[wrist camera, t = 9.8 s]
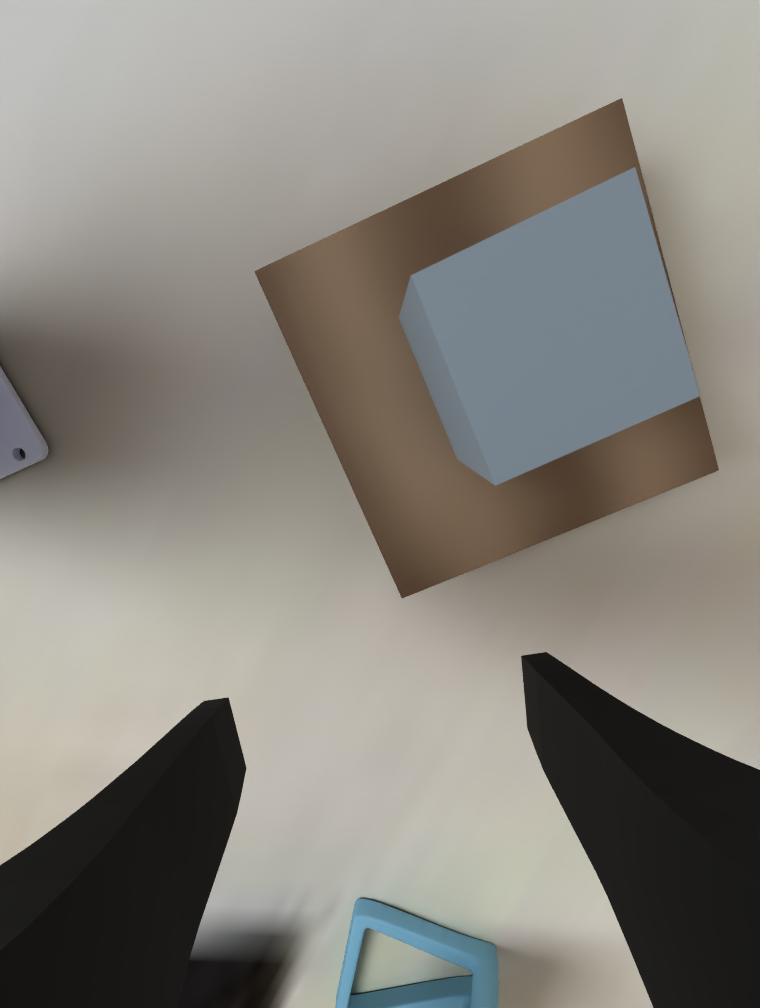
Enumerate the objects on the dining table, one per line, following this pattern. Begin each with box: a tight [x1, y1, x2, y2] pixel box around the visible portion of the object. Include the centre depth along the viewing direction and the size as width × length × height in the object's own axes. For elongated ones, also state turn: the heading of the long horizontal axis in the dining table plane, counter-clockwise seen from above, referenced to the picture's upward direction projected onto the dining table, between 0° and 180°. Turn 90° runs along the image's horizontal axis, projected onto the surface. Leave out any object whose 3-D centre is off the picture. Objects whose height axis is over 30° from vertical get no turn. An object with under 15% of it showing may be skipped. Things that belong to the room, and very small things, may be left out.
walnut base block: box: [255, 98, 719, 598], centre depth 17 cm, size 12×12×4 cm
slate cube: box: [399, 167, 700, 486], centre depth 12 cm, size 5×5×5 cm
